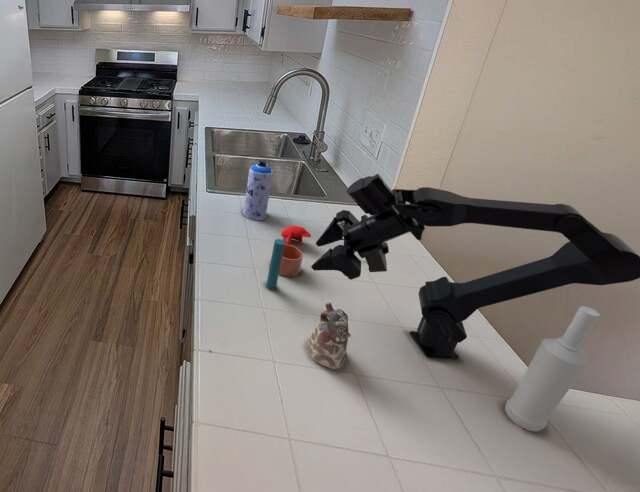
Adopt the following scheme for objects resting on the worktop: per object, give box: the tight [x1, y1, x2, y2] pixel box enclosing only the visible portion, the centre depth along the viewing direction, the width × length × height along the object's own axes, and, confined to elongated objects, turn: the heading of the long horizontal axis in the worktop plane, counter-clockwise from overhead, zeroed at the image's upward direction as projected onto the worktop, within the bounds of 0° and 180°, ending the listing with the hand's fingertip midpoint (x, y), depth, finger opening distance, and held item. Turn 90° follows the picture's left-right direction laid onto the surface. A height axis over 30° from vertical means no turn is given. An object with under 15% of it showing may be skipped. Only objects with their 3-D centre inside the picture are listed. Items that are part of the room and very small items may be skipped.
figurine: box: [307, 301, 352, 370], centre depth 78 cm, size 7×7×12 cm
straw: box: [265, 238, 286, 291], centre depth 97 cm, size 2×2×14 cm
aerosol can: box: [242, 159, 274, 221], centre depth 129 cm, size 8×8×20 cm
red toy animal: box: [280, 225, 312, 248], centre depth 116 cm, size 8×6×6 cm
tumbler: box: [279, 243, 304, 278], centre depth 105 cm, size 7×7×6 cm
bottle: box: [504, 305, 601, 433], centre depth 64 cm, size 5×5×25 cm
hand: (314, 256), depth 90 cm, fingers open, 9 cm apart
